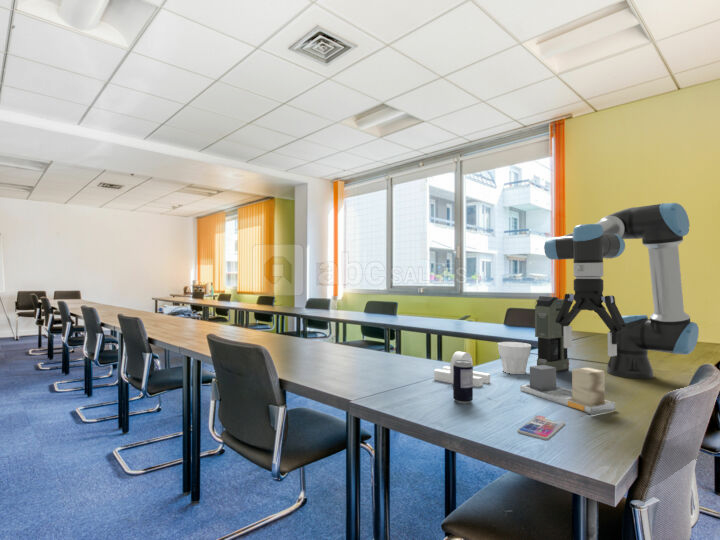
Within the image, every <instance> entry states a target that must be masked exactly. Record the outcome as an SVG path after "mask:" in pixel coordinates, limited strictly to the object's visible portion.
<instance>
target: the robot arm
mask: <svg viewBox="0 0 720 540" xmlns="http://www.w3.org/2000/svg"><path fill="white" fill-rule="evenodd" d="M689 227H690V220H689V215H688V213H687V211H686V209H685V208H684V206H682V205H681V204H680V203H677V202H668V203H658V204H651V205H643V206H636V207H634V206H633V207H628V208H623V209H621V210H618V211H615V212H614V213H611V214H608V215H605V216H604V217H602V218H601V219H599V221H598V222H596V223H585V224H578V225H576V226H574V227H573V230H572V231H573V232H571V233H568V234H565V235H563V236H554V237H549V238H546V241H545V242H544V246H543V249H544V254H545V256H546V257H547V258H548V259H549V260H557V261H560V260H573V277H574V278H573V291H574V293H565V294H564V298H563V299H564V302H563V304H562V307H561V309H560V311H559V313H558V316H557V318H556V320H555V322H556V323H559V324H561V326H562V336H564V348H567V349H571V348H573V332H572V331H573V327H572V325H571V323H572V322H573V321H574V320H575V318H576V317H577V316H578V315H579V313H580V312H581V311H591V312H592V311H594V312H595V313H596V314H597V315H598V316H599V318H600V319H601V320H602V321H603V323H604V324H605V326H606V327H607V328H608V329H609V331H607V357H609V360H608V362H607V366H606V372H607V373H608V374H610V375H613V376H616V377H623V378H630V379H637V380H638V379H641V380H644V379H645V380H646V379H647V380H648V379H653V378H654V370H653V366H652V364H651V362H650V359H649V357H648V356H649V355H648V351H653V352H661V353H666V354H667V353H669V354H673V355H689V354H691V353H692V352H693V351H694V350H695V348H696V346H697V343H698V341H699V326H698V324H697V323H696V322H693V321H691V315H689V314H688V313H687V312H685V309H684V308H685V307H684V298H683V296H684V295H683V286H682V285H683V284H682V274H681V262H680V253H679V245H680V244H681V243H682V242H683V241H684V237H685V236H687V235H688V234H689V232H690V228H689ZM634 239H635V240H637V239H638V240H639V239H641V241H642V242H641V243H642V245H643V246H644V247H646V248H647V249H648V250H647V251H648V258H649V259H648V260H649V269H650V280H651V281H650V282H651V292H652V293H651V294H652V301H653V303H652V304H653V313H651V315H649V317H648V314H635V315H631V314H630V315H629V314H628V315H622V314H621V313H620V310H619V308H618V307H617V304H616V298H615V296H614V295H603V292H604V279H603V278H602V277H604V259H615V258H619V257H620V256H621V255H622V254H623V253H624V251H625V249H626V243H625V240H634ZM573 302H575V303H574V304H573ZM603 303H604V304H605V306H604V304H603ZM572 305H573V306H572ZM606 309H607V310H606ZM568 312H569V313H568Z"/></svg>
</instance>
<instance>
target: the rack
mask: <svg viewBox="0 0 720 540" xmlns="http://www.w3.org/2000/svg"><path fill="white" fill-rule="evenodd" d="M519 389H520V392H523V393H526V394H530V395H532V396H536V397H539V398H542V399H544V400H548V401H551V402H554V403H557V404H560V405H564V406H566V407H570V408H571V409H572V408H573V409H574V410H579V411H581V412H585V413H587V416H594V415H595V416H596V415H600V414H605V413H609V412H613V411H616V402H614V401H611V400H607V399H605V403H603V404H598V405H593V406H587V405H584V404H581V403H577V402H574V401H572V389H568V388H565V387H563V386H562V387H561V386H557V385H556V389H555V390H548V391H539V390H536V389H532V388H530V383H529V384H521V385H520V386H519Z"/></svg>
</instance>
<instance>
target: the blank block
mask: <svg viewBox="0 0 720 540" xmlns="http://www.w3.org/2000/svg"><path fill="white" fill-rule="evenodd" d="M529 384H530V388H532V389H536V390H539V391H548V390H555V389H556V386H557V374H556V368H555V367H551V366H547V365H539V366H537V365H533V366H529Z"/></svg>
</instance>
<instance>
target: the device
mask: <svg viewBox="0 0 720 540" xmlns="http://www.w3.org/2000/svg"><path fill="white" fill-rule="evenodd" d="M563 302H564V298H559V297H557V296H541V295H539V297H538V299H537V300H536V299H535V302H534V303H535V305H534V337H535V338H537V359H536V366H539V365H547V366H551V367H555V368H556V375H557V374H561V373H566V372H569V371H570V358H568V348H564V336H562V326H561V324H559V323H556V322H555V320H556V318H557V316H558V313H559V311H560V309H561V307H562V304H563ZM569 312H570V311H569ZM569 312H568V313H569Z"/></svg>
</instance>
